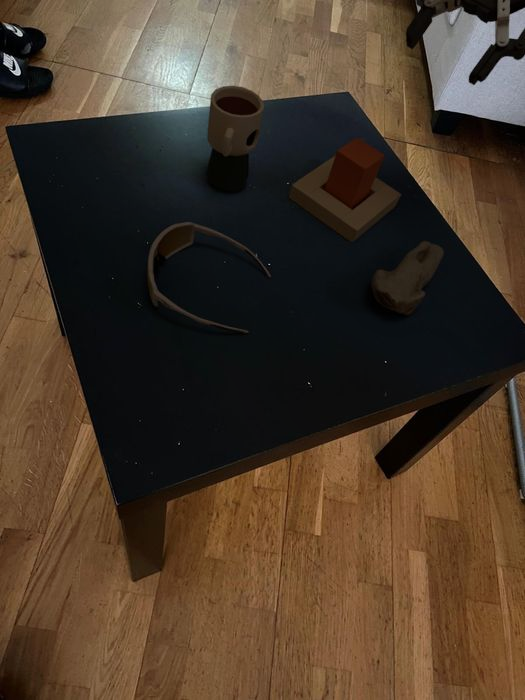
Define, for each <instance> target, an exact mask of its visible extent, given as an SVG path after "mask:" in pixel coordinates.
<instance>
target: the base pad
mask: <svg viewBox="0 0 525 700" xmlns="http://www.w3.org/2000/svg"><path fill="white" fill-rule="evenodd" d="M335 156H336V154H335V155H334V156H332V157H331V158H329V159H327V160H326V161H325V162H323V163H322V164H320V165H319V166H318V167H316V168H315V169H313V170H312V171H310V172H309V173H307V174H305V175H304V176H302V177H301V178H299V179H298V180H297V181H295V182H294V183H292V184H291V187H290V191H289V194H288V199H290V200H291V201H292V202H294V203H295V204H297V205H298V206H299V207H301V208H302V209H304V210H305V211H306V212H308V213H309V214H310V215H312V216H313V217H315V218H316V219H318V220H319V221H321V222H322V223H323V224H325V225H326V226H327V227H329V228H330V229H331V230H333V231H335V232H336V233H337V234H339V235H340V236H342V237H343V238H344V239H346V241H349V243H351V244H352V243H354V242H355V241H356V240H358V239H359V238H360V237H361V236H362V235H364V233H366V232H367V231H368V230H370V229H371V228H372V227H373V226H374V225H375V224H377V223H378V222H379V221H380V220H381V219H383V218H384V217H385V216H386V215H387V214H388V213H389V212H391V211H392V210H393V209H395V207H396V206H397V205H398V202H399V200H400V199H401V197H402V193H400V192H399V191H398V190H396V189H394V187H391V186H390V185H388V184H386V183H385V182H384V181H382V180H381V179H379V178H378V177H377V176H376V177H375V180H374V182H373V185H372V187H371V189H370V192H369V194H368V196H367V199H366V200H365V201H363V202H362V203H361V204H360V205H358V206H357V207H356V208H355V209H353V210H352V209H350V208H349V207H347V206H346V205H344V204H343V203H342V202H340V201H339V200H337V199H336V198H334V197H333V196H331V195H330V194H329V193H327V192H326V191H324V189H325V186H326V183H327V180H328V177H329V174H330V171H331V168H332V165H333V162H334V159H335Z"/></svg>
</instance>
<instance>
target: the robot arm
mask: <svg viewBox="0 0 525 700" xmlns="http://www.w3.org/2000/svg"><path fill="white" fill-rule="evenodd" d="M415 2H416V3H415V4H416V6H418V7H420V8H419V10H418V11H417V13H416V14H415V16H414V17H413V19H412V20H411V22H410V23H409V25H408V26H407V27H406V29H405V30H406V31H405V42H406V43H405V44H406V47H408V48H409V49H410V50H413V49H415V47H416V46H417V44H419V42H420V40H421V39H422V37H423V36H424V34H425V33H426V31H427V30H428V29H429V27H430V26H431V24H432V23H433V19H434V18H436V17H438V16H440V15H442V14H445V13H452V12H454V11H456V10H458V9H461V8H462V9H463V12H464V13H466V14H468V15H471V16H476V17H477V18H478V19H479V20H480V21H481V22H483V23H485V24H488V23H495V24H494V32H495V33H494V40H495V42H494V43H490V45H489V47H488V48H487V49H486V51H484V53H483V54H482V56H481V57H480V59H479V60H478V62H477V63H476V64H475V66H474V67H473V69H472V70H471V71H470V73H469V75H468V83H469V84H471V85H473V86H475V85H476V84H477V83H478V82H479V83H482V82H484V81H486V79H488V76H489V75H491V73H492V71H493V70H494V69H495V67H496V66H497V65H498V63H499V62H500V60H501V59H503V58H506V57H509V58H513V59H514V60H515V61H520V60H522V59H524V57H525V27H524V28H523V30H522V31H521V33H519V36H518V37H517V38H511V37H510V20H511V19H510V15H513V14H515V13H517V12H519V11H521V10H523V9H525V0H415Z"/></svg>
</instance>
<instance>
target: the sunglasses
mask: <svg viewBox="0 0 525 700" xmlns="http://www.w3.org/2000/svg"><path fill="white" fill-rule="evenodd" d="M196 232H198V233H201V234H204V235H205V236H212V237H213V236H214V237H218V238H220V239H223V240H225V241H226V242H229V243H230V244H231V245H233V246H234V247H236V248H237V249H239V250H241V251H243V252H245V254H247V255H248V256H249V257H250V258H251V259H252V260H253V261H255V262H256V264H257V266H259V268H260V269H261V270H262V271H263V273H264V275H265V276H266V277H268V278H272V275H271V274H270V272H269V270H268V269H267V268H266V266H265V265H264V264H263V262H262V261H261V260H260V259H259V257H258V256H257V255H255V254H254V252H253V251H252V250H250V249H249V248H248V247H247V246H245V245H243V244H241V243H240V242H238V241H237V240H235V239H232V238H231V237H229V236H227V235H225V234H223V233H221V232H219V231H217V230H214V229H212V228H210V227H206V226H203V225H201V224H198V223H194V222H192V221H185V222H179V223H174V224H172V225H170V226H168V227H166V228H165V229H164V230H163V231H161V232H160V233H159V234H158V236H156V238H154V241H153V242H152V244H151V247H150V249H149V253H148V259H147V268H146V278H147V287H148V291H149V292H148V293H149V296H150V301H151V302H152V304H153V306H154V307H157V308H158V307H159V303H158V302H160V303H161V304H162V305H164V307H166V308H167V309H170V310H173V311H176V312H177V313H179V314H182V315H184V316H186V317H188V318H190V319H192V320H194V321H195V322H197V323H199V324H203V325H206V326H210V327H212V328H217V329H221V330H223V331H229V332H232V333H233V332H234V333H237V334H247V333H249V330H247V329H241V328H237V327H233V326H228V325H225V324H221V323H217V322H214V321H212V320H207V319H205V318H201V317H199V316H196V315H195V314H192V313H190V312H188V311H187V310H185V309H183V308H181V307H180V306H178V305H177V304H176V303H174V302H173V301H171V299H169V298H167V297H166V296H165V295H164V294H162V293H161V292H160V291H159V290H158V286H157V284H156V282H155V275H158V274H159V273H160V268H159V267H160V266H159V263H158V260H159V261H160V262H166V261H167V260H168V259H169V258H170V257H171V256H173V255H175V254H176V253H178V252H180V251H181V250H184V249H185V248H187V247H190V246H192V245H193V244H194V239H195V233H196Z"/></svg>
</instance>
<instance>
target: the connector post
mask: <svg viewBox="0 0 525 700" xmlns="http://www.w3.org/2000/svg"><path fill="white" fill-rule="evenodd" d="M335 155H336V156H335ZM335 155H334V156H335V159H334V162H333V165H332V168H331V171H330V174H329V177H328V180H327V183H326V186H325V189H324V191H326V192H327V193H329V194H330V195H331V196H333V197H334V198H336V199H337V200H339V201H340V202H342V203H343V204H344V205H346V206H347V207H349V208H350V209H352V210H353V209H355V208H356V207H357V206H358V205H360V204H361V203H362V202H363V201H365V200H366V199H367V196H368V194H369V192H370V189H371V187H372V185H373V182H374V180H375V177H376V178H377V175H378V172H379V170H380V168H381V166H382V164H383V160H384V159H385V156H386V155H385V154H383V153H382V152H381V151H379V150H378V149H376V148H374V147H373V146H371V145H369V144H368V143H366V142H365V141H364V140H362V139H360V138H359V137H355V138H354V139H351V141H349V142H347V143H346V144H345V145H343V146H342V147H340V148H339V149H337V150H336V153H335Z"/></svg>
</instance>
